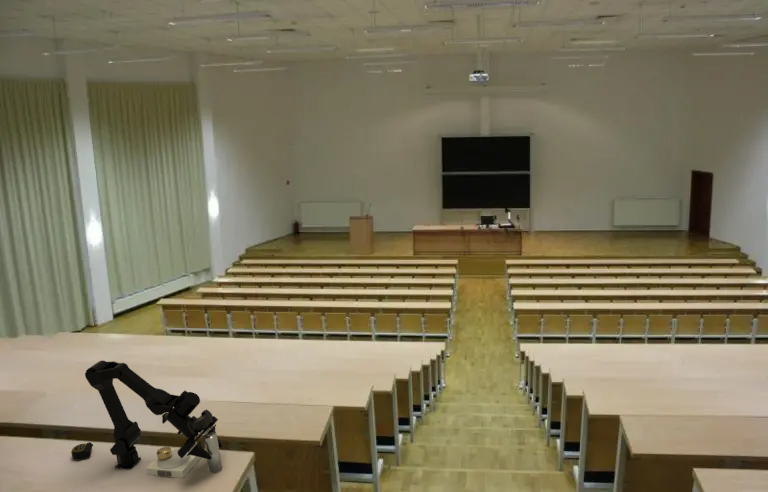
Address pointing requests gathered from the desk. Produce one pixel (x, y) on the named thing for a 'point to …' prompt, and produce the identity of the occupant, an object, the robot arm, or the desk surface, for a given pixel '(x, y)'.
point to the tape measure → (82, 451)
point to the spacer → (213, 452)
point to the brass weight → (164, 453)
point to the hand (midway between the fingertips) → (216, 452)
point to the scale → (173, 465)
